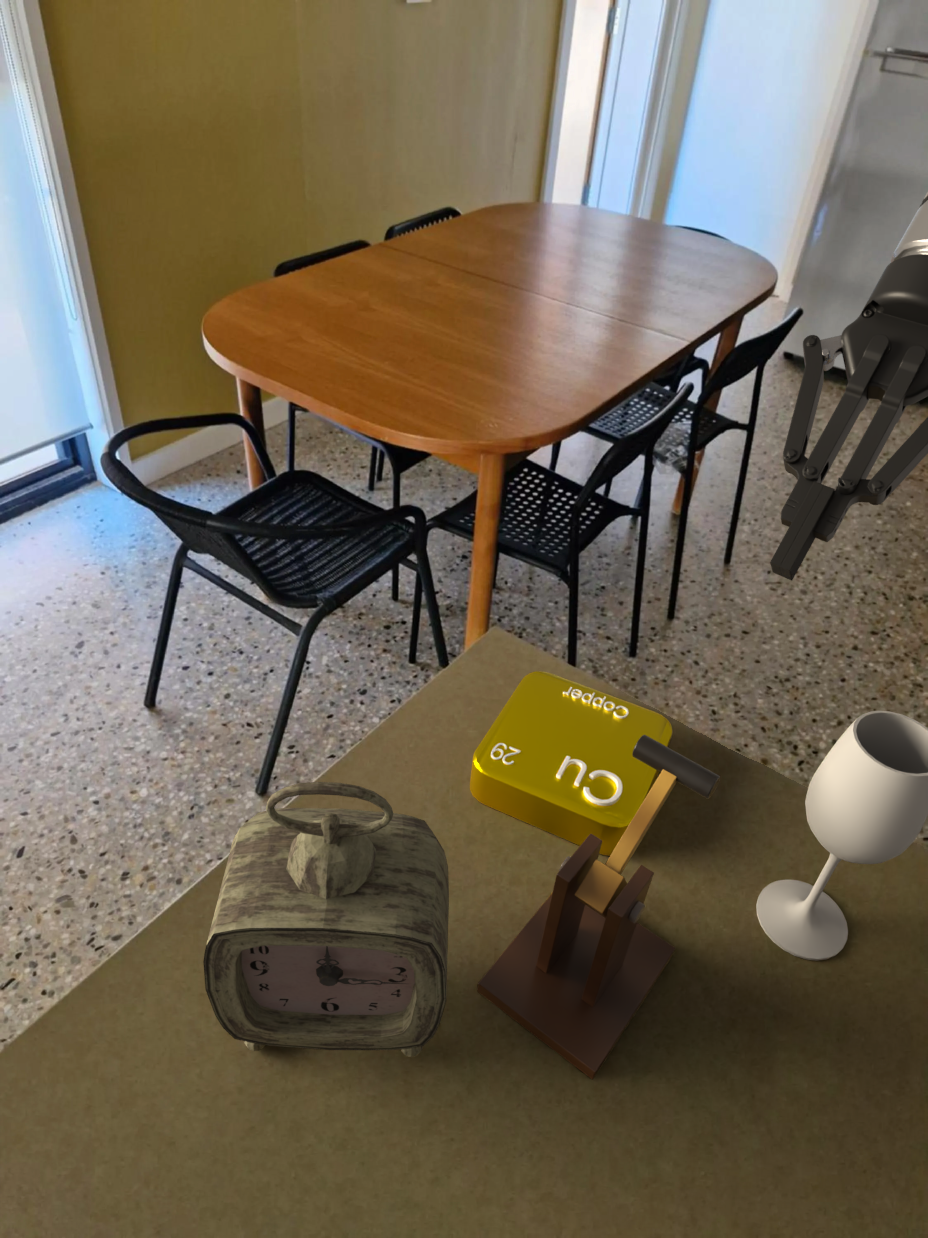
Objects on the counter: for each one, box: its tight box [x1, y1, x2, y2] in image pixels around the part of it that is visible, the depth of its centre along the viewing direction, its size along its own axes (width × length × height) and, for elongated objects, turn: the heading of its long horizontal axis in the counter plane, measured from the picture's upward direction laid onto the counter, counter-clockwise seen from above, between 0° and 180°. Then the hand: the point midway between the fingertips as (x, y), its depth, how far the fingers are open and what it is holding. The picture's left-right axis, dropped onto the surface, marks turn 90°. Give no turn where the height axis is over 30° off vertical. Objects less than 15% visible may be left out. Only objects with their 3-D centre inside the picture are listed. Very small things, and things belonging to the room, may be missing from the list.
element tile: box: [469, 670, 673, 856], centre depth 81 cm, size 15×15×5 cm
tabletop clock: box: [203, 781, 450, 1058], centre depth 56 cm, size 14×9×25 cm, turn 90°
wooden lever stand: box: [476, 834, 676, 1080], centre depth 63 cm, size 12×10×13 cm
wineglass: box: [755, 709, 928, 961], centre depth 65 cm, size 8×8×21 cm
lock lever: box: [575, 735, 721, 918], centre depth 61 cm, size 12×6×2 cm, turn 143°
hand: (781, 571), depth 63 cm, fingers closed
